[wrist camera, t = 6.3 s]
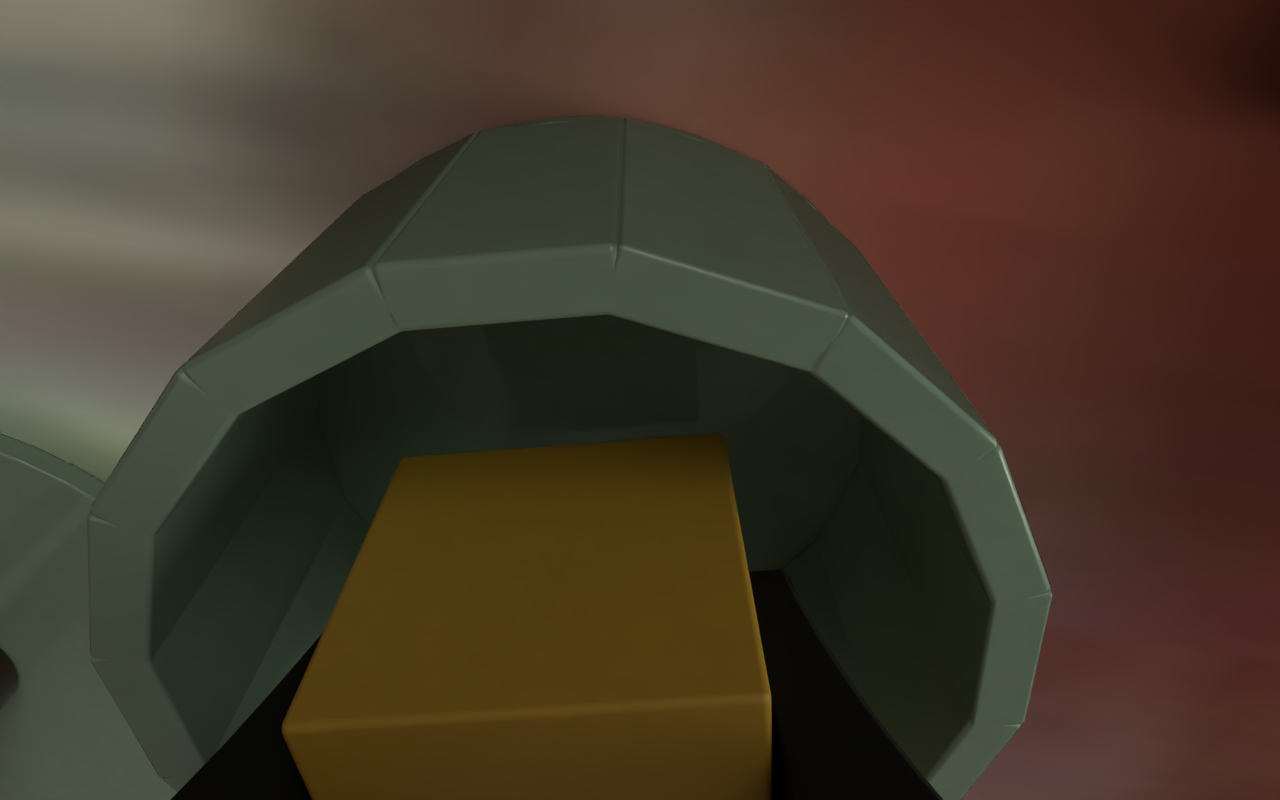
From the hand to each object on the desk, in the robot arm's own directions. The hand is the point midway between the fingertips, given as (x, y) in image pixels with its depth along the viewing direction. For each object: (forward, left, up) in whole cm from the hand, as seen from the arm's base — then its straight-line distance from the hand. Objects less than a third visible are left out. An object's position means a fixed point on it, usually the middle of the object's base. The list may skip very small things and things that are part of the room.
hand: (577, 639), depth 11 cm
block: (0, 0, -1) cm, 1 cm away
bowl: (0, 0, -6) cm, 6 cm away
